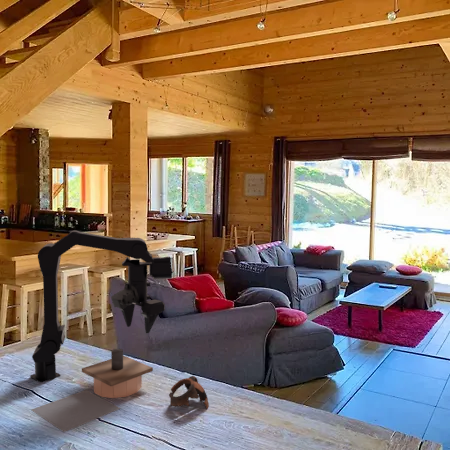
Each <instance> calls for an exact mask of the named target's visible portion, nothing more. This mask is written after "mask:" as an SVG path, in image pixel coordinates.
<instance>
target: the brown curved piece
mask: <svg viewBox="0 0 450 450" xmlns="http://www.w3.org/2000/svg"><path fill="white" fill-rule="evenodd" d="M198 380H199V379H198V378H197V377H196V376H195V375H191V376H189V377H187V378H182V379H180V380H179V381H176V383H174V384H173V386H172V387H171V388H170V392H169V394H168V396H169V398H170V400H169V401H170V405H171V406H172V407H174V408H177V407H182V406H188V407H189V406H190V403H189V398H190V399H199V401H200V402H201V401H202V402H203V404H204V406H205V407H204V408H205V409H206V410H209V406H210V404H209V400H208V396H207V392H206V390H205V388H204V387H203V386H202V385H201V384H200V383H199V381H198ZM182 386H184V387H185V388H186V391H185V392H184V393H182V394H180V395H179V396H174V395H175V393H176V391H178V390H179V389H180V388H181V387H182Z"/></svg>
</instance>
